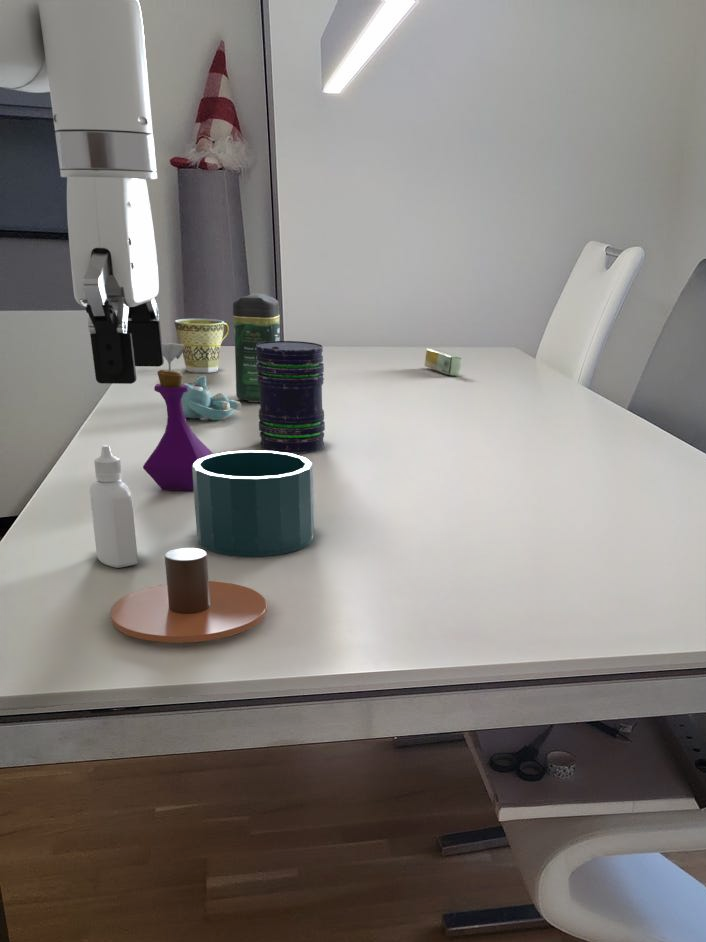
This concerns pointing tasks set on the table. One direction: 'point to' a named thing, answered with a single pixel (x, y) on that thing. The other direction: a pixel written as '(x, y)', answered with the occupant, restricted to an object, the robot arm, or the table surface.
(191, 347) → the ceramic cup
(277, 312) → the coffee jar
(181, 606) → the tin lid
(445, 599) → the table surface
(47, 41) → the robot arm
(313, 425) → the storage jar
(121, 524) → the eye dropper bottle
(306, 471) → the tin
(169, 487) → the perfume bottle
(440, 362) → the medication box
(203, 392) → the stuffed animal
